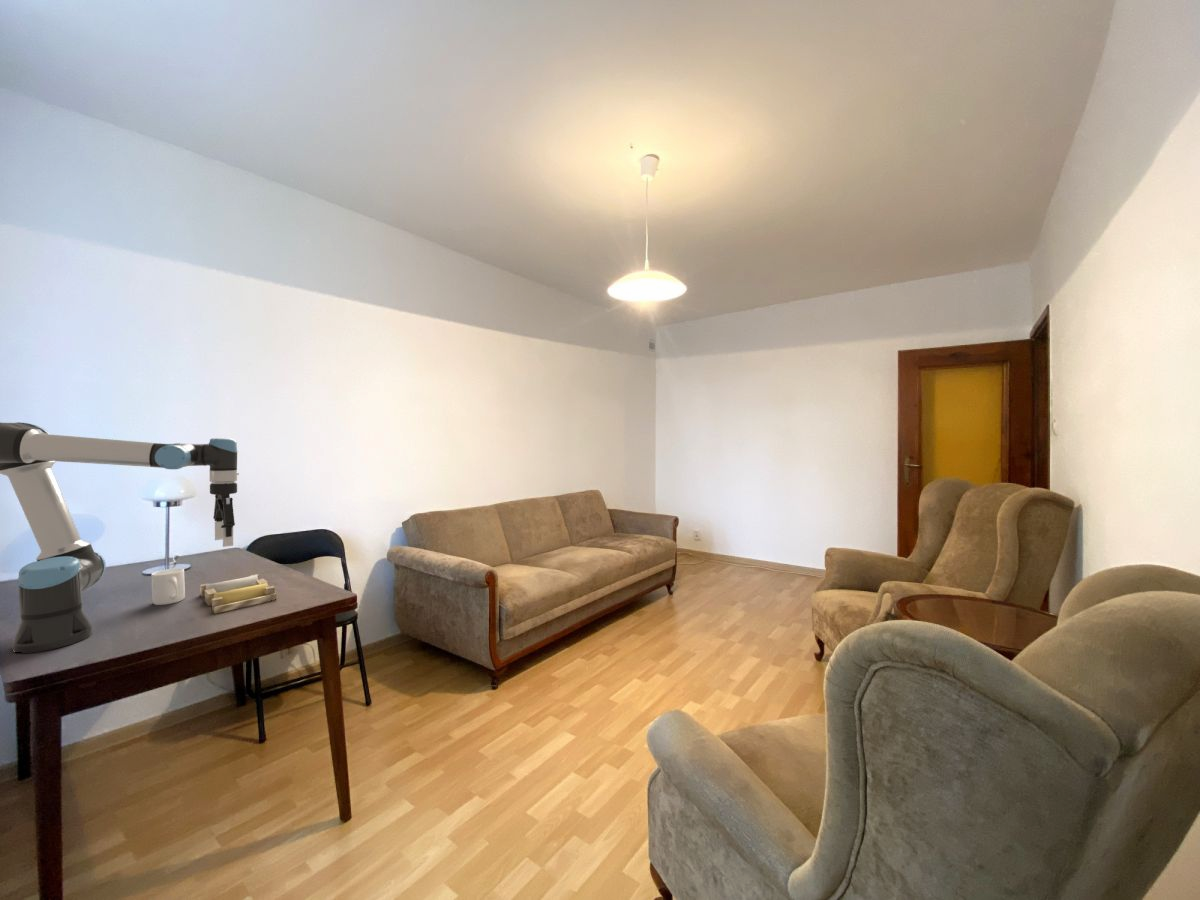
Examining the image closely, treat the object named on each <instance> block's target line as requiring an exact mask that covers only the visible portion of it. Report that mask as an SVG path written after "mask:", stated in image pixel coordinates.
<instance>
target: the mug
mask: <svg viewBox="0 0 1200 900" xmlns="http://www.w3.org/2000/svg"><path fill="white" fill-rule="evenodd" d="M150 575H151V576H150V577H151V592H152V595H151V596H152V604H153V605H156V606H164V605H171V604H175V603H179V602H180V601H183V600H184V599H185V597H186V586H185V585H186V583H185V569H184V568H182V567H181V568H180V567H179V568H177V567H175V568H174V567H173V568H166V569H162V570H157V571H154V572H152V573H151V574H150Z"/></svg>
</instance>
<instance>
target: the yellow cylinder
mask: <svg viewBox="0 0 1200 900" xmlns="http://www.w3.org/2000/svg"><path fill="white" fill-rule="evenodd" d="M266 587H270V585H269V583H268V584H267V583H264V584H259V585H254V586H250V587H245V588H240V589H235V590H230V591H225V592H220V593H215V594H214V598H218V597H222V598H223V605H225V604H230V603H234V602H239V601H243V600H248V599H253V598H257V597H262V596H265V588H266Z"/></svg>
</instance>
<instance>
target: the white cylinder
mask: <svg viewBox="0 0 1200 900" xmlns="http://www.w3.org/2000/svg"><path fill="white" fill-rule="evenodd" d="M255 580H258V577H257V575H256V576H250V575H249V576H246V577H241V578H236V579H231V580H226V581H220V582H215V583H209V584H208V583H207V584H208V585H206V590H208V589H213V588H214V589H215V591H216V592H217V593H220V592H225V591H230V590H235V589H240V588H245V587H250V586H254V585H256V581H255Z"/></svg>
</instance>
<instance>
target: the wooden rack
mask: <svg viewBox="0 0 1200 900" xmlns="http://www.w3.org/2000/svg"><path fill="white" fill-rule="evenodd" d="M256 575H257V577H258V580H255V581H256V585H259V584H264V583H267V584H268V585H269V581H268V580H266V579H264V578H260V575H259V574H257V573H256V574H251V575H249V577H250V576H256ZM208 584H210V583H204V584H199V585H200V588H199V593H200V597H202V598H204V601H205V603H206V605H207V606H208V607H210V606H211V609H212V610H211V611H212V613H214V614H215V615H216V614H218V613H219V614H220V613H223V612H228V611H232V610H236V609H242V608H246V607H250V606H254V605H260V604H262V603H263V604H264V603H267V602H268V603H269V602H271V600H272V601H276V600H275V599H277V597H278V596H277V593H276V587H275V586H274V585H271V586H270V585H269V587H266V588H265V596H262V597H257V598H253V599H248V600H243V601H239V602H234V603H230V604H225V605H223V598H222V597H218V598H214V594H215V593H217V592H216V591H215V589H214V588H213V589H208V590H206V585H208Z"/></svg>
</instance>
